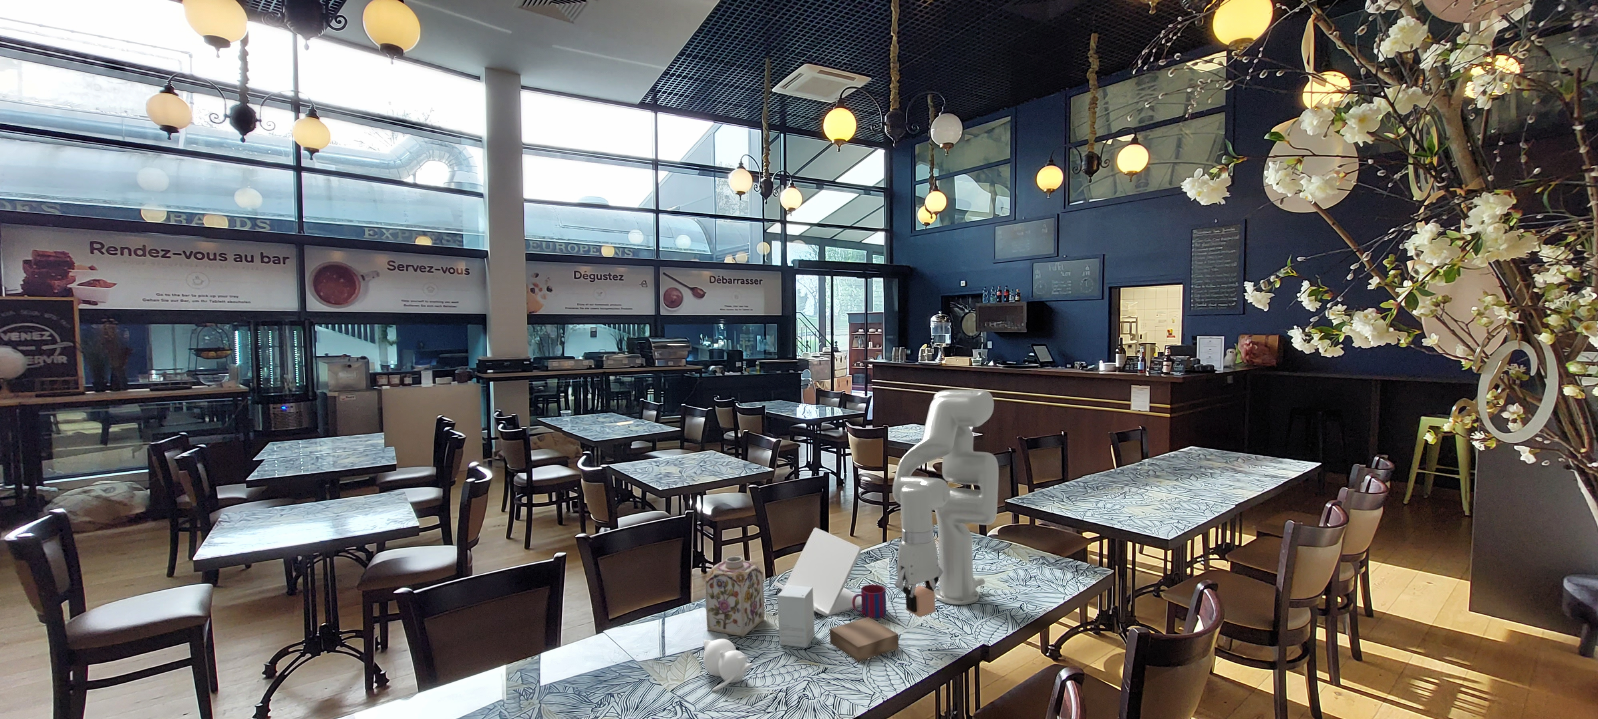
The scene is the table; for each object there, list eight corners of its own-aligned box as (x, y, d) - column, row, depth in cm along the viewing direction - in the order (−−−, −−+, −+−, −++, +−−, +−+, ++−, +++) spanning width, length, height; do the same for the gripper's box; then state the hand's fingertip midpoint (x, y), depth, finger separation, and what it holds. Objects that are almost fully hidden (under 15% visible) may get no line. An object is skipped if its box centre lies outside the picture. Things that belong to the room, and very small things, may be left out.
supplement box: (815, 635, 166) (814, 586, 166) (806, 648, 159) (804, 597, 159) (788, 631, 169) (786, 583, 169) (778, 644, 162) (776, 594, 162)
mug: (890, 615, 177) (890, 591, 177) (857, 622, 173) (856, 597, 173) (879, 606, 183) (878, 582, 183) (847, 612, 180) (846, 588, 179)
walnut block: (868, 632, 168) (868, 616, 168) (898, 650, 158) (898, 633, 158) (830, 644, 162) (829, 628, 162) (858, 663, 152) (858, 647, 152)
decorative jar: (765, 619, 177) (763, 554, 176) (744, 637, 166) (742, 568, 166) (728, 613, 182) (725, 549, 182) (705, 630, 171) (702, 562, 171)
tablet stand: (823, 578, 207) (821, 525, 207) (870, 604, 185) (868, 545, 185) (773, 590, 198) (771, 535, 198) (816, 619, 176) (814, 557, 176)
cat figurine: (744, 643, 143) (713, 625, 152) (710, 684, 137) (680, 662, 146) (761, 668, 146) (731, 649, 155) (729, 709, 140) (699, 686, 149)
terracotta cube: (921, 604, 164) (920, 585, 164) (935, 611, 160) (934, 591, 160) (906, 609, 162) (905, 590, 161) (919, 617, 157) (919, 597, 157)
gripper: (932, 524, 167) (935, 593, 168) (880, 538, 159) (883, 611, 160) (953, 531, 161) (956, 603, 162) (900, 547, 152) (903, 622, 153)
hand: (920, 606), depth 161 cm, fingers closed on terracotta cube, 4 cm apart
